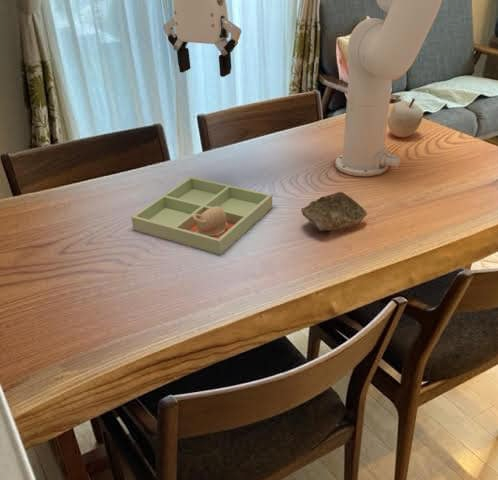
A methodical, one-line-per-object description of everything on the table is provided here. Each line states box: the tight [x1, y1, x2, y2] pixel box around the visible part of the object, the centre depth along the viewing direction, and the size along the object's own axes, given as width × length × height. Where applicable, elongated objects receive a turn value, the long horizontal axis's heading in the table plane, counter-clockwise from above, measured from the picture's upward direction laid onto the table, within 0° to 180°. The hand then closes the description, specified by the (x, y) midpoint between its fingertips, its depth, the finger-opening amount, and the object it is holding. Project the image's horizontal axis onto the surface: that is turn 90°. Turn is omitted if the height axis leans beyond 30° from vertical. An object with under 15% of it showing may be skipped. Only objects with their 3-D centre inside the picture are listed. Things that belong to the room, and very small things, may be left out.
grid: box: [130, 176, 273, 255], centre depth 112 cm, size 21×21×3 cm
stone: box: [300, 191, 368, 232], centre depth 108 cm, size 13×8×8 cm
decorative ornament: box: [193, 206, 228, 236], centre depth 106 cm, size 4×8×5 cm, turn 130°
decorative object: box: [387, 97, 424, 138], centre depth 142 cm, size 9×9×10 cm
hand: (205, 72), depth 110 cm, fingers open, 9 cm apart
